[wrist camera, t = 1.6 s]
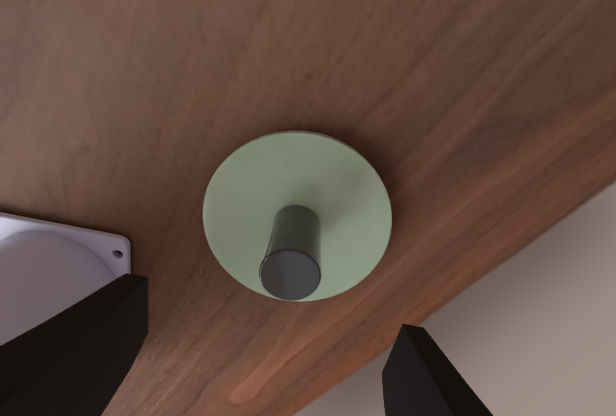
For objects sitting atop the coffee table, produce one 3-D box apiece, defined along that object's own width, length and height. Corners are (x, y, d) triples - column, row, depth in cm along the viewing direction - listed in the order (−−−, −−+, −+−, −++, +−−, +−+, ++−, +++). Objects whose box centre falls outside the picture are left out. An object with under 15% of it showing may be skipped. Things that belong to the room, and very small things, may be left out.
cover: (360, 302, 20) (372, 379, 15) (202, 272, 19) (164, 342, 15) (413, 150, 16) (451, 190, 11) (217, 107, 15) (173, 132, 11)
